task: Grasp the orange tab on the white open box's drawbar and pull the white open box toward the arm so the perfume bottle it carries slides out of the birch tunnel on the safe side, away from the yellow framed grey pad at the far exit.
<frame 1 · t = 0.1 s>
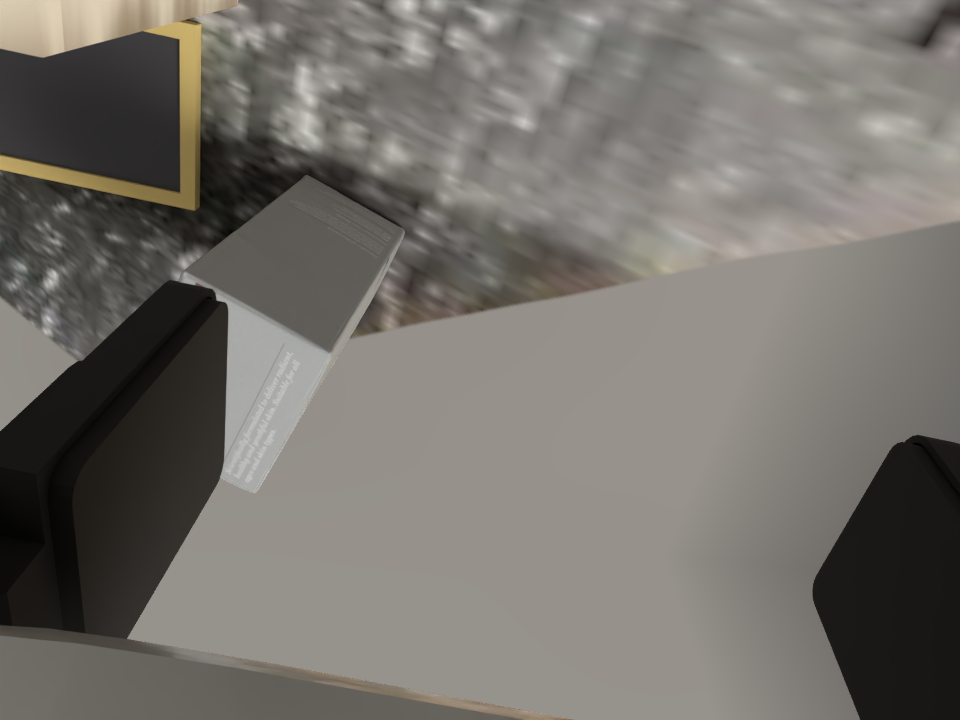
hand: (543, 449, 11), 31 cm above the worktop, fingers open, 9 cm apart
yellow framed grey pad: (91, 97, 40), on the worktop
skincare box: (325, 251, 43), on the worktop
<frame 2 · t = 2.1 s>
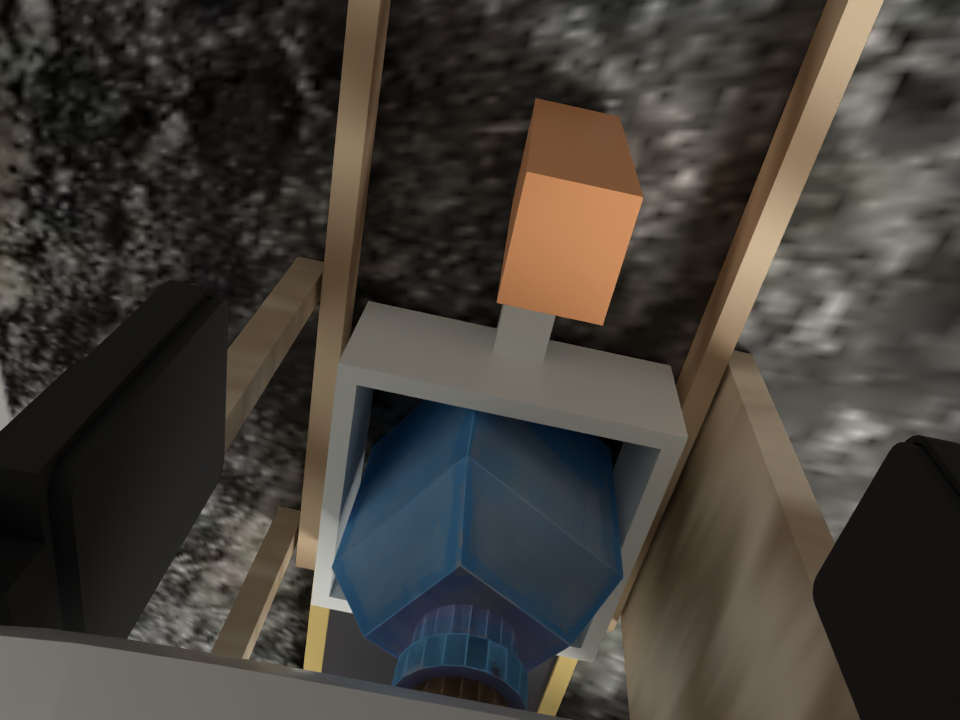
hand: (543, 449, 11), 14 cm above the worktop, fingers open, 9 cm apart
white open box: (504, 429, 23), point 4 cm above the worktop, slide at 0.0 cm
track: (548, 220, 23), on the worktop
yellow framed grey pad: (437, 655, 34), on the worktop
tunnel: (490, 448, 28), on the worktop
perfume bottle: (490, 443, 28), resting in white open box
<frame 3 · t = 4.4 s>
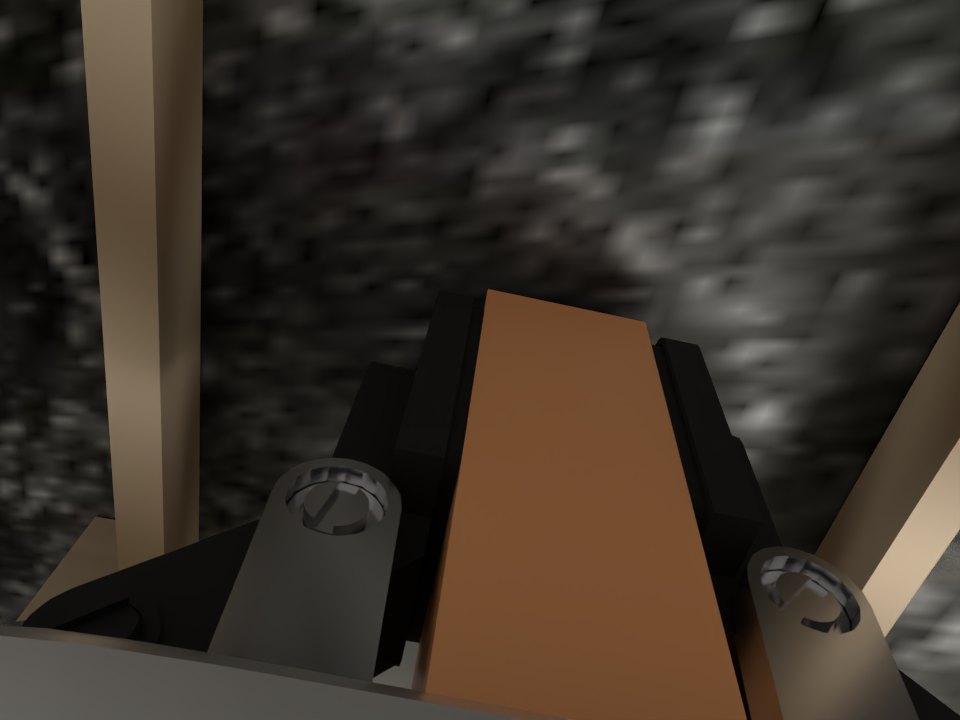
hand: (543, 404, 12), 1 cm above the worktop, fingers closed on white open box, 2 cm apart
track: (516, 474, 13), on the worktop
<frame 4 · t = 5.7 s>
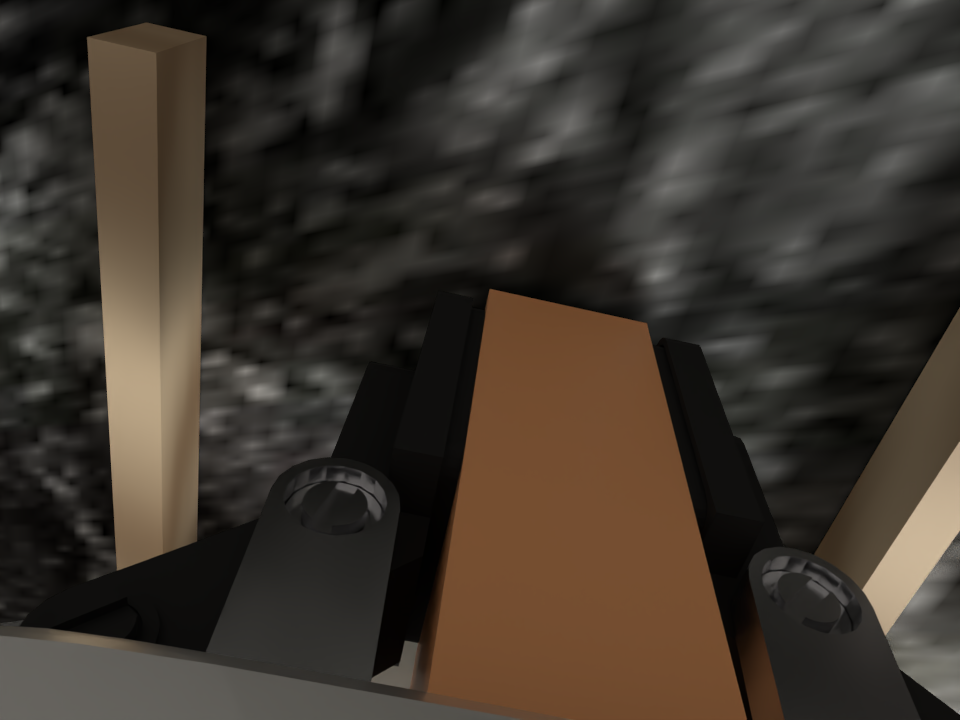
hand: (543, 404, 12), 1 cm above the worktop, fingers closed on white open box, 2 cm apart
track: (454, 686, 16), on the worktop
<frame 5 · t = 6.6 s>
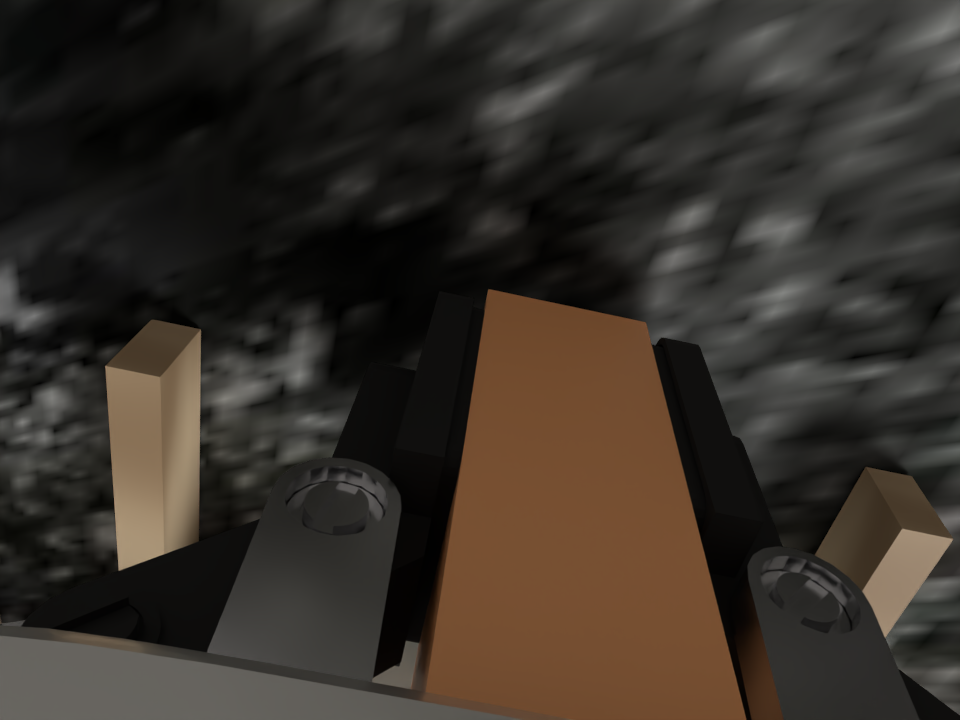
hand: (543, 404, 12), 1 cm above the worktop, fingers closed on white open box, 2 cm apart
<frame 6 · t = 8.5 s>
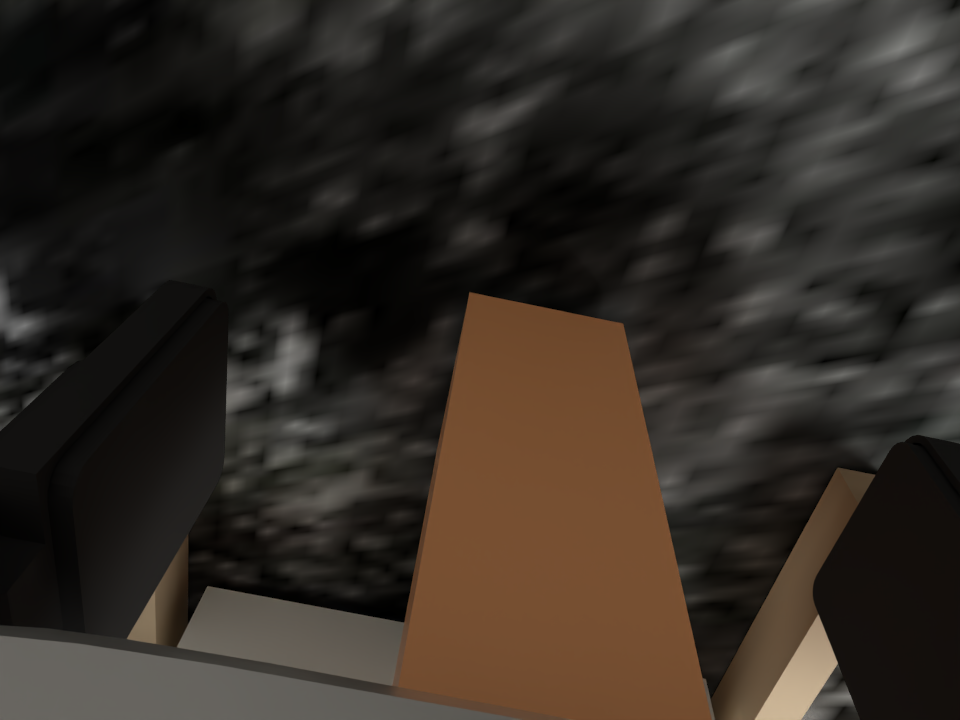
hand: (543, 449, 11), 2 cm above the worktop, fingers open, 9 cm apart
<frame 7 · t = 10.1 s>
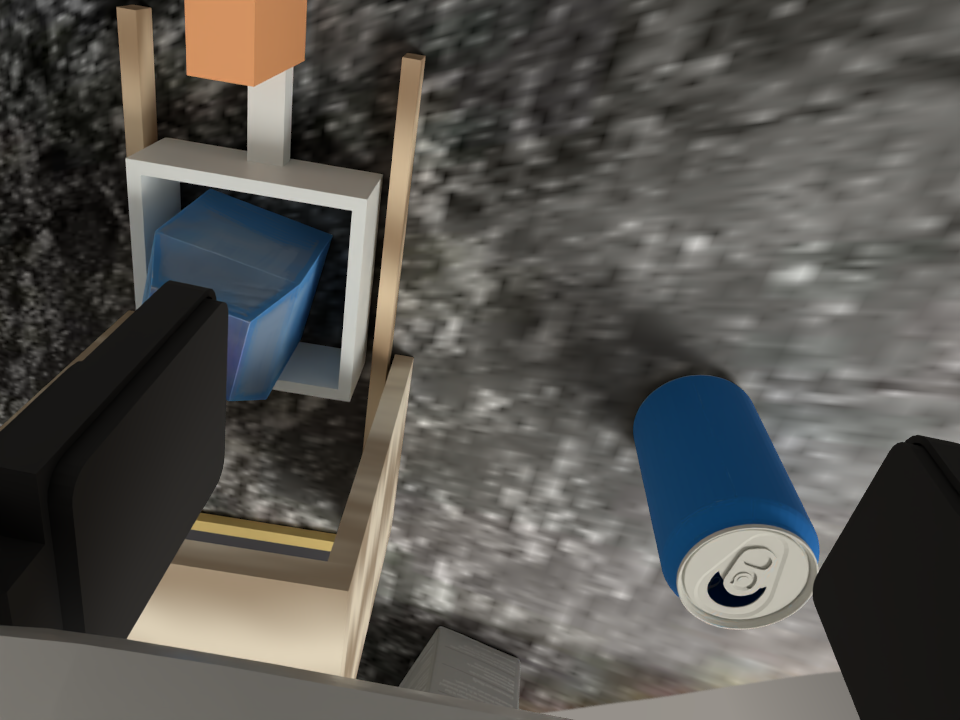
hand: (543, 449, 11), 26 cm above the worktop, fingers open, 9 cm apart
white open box: (250, 207, 33), point 4 cm above the worktop, slide at 10.5 cm
track: (273, 282, 39), on the worktop
yellow framed grey pad: (265, 579, 49), on the worktop
skincare box: (452, 669, 52), on the worktop
beverage can: (690, 417, 41), on the worktop
tunnel: (269, 426, 43), on the worktop
perfume bottle: (259, 265, 39), resting in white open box
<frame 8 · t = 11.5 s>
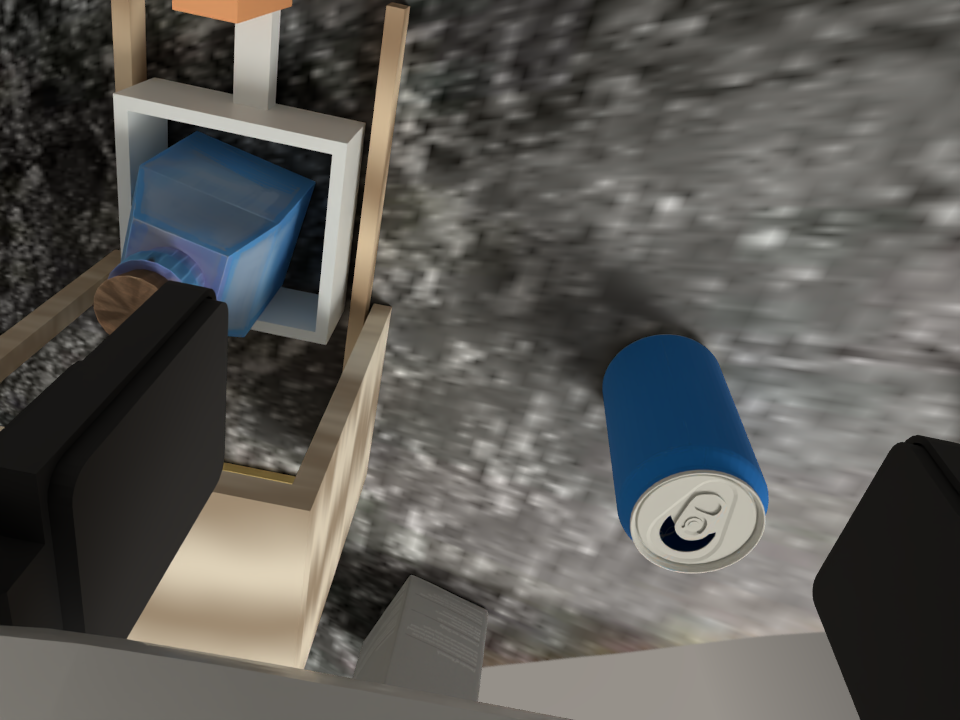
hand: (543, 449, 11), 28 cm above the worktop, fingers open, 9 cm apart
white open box: (233, 147, 34), point 4 cm above the worktop, slide at 10.5 cm
track: (256, 226, 40), on the worktop
yellow framed grey pad: (242, 522, 50), on the worktop
skincare box: (422, 618, 54), on the worktop
beverage can: (659, 376, 43), on the worktop
tunnel: (249, 370, 44), on the worktop
perfume bottle: (243, 209, 40), resting in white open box
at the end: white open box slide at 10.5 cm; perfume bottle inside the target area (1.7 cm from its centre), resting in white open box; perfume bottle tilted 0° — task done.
